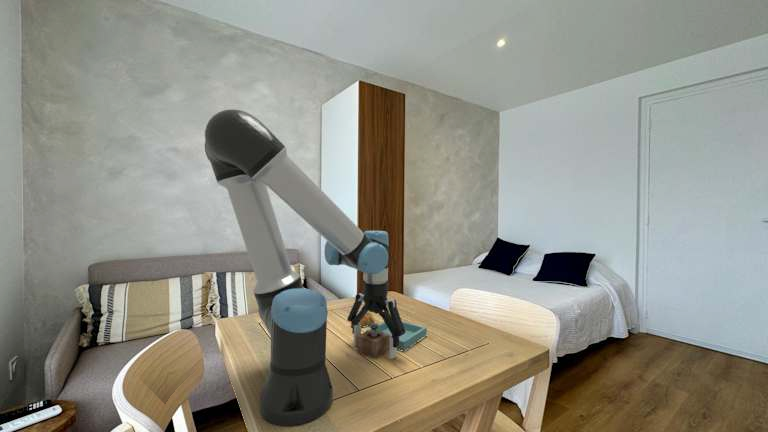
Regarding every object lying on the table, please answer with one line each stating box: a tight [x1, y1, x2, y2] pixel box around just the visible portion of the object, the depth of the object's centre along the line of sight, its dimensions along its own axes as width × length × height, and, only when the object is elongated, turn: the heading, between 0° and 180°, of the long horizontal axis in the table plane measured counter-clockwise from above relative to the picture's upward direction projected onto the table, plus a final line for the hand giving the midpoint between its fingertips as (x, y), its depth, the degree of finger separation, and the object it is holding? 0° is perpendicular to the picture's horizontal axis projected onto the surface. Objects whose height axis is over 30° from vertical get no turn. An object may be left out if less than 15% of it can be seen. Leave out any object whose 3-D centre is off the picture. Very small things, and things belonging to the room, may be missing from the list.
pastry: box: [350, 312, 376, 328], centre depth 111 cm, size 9×7×4 cm
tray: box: [365, 320, 428, 352], centre depth 100 cm, size 15×15×3 cm
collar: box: [356, 330, 390, 360], centre depth 89 cm, size 7×7×5 cm
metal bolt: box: [369, 322, 380, 338], centre depth 89 cm, size 3×3×8 cm
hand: (374, 351), depth 89 cm, fingers open, 13 cm apart
